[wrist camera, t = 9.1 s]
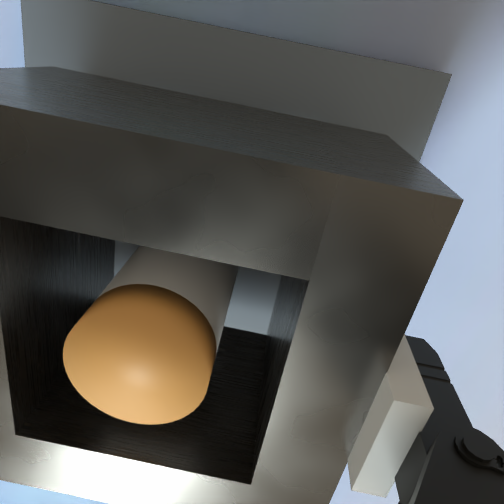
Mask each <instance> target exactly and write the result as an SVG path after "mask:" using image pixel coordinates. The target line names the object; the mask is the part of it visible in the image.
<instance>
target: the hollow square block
mask: <svg viewBox="0 0 504 504" xmlns="http://www.w3.org/2000/svg"><path fill="white" fill-rule="evenodd" d="M462 203H463V199H462V198H461V197H460V196H458V195H457V194H456V193H455V192H454V191H453V190H451V189H450V188H449V187H448V186H447V185H445V184H444V183H443V182H442V181H441V180H440V179H438V178H437V177H436V176H435V175H434V174H432V173H431V172H430V171H429V170H428V169H427V168H425V167H424V166H423V165H422V164H421V163H420V162H418V161H417V160H416V159H415V158H414V157H412V156H411V155H410V154H409V153H408V152H407V151H405V150H404V149H403V148H402V147H401V146H400V145H398V144H397V143H396V142H395V141H394V140H392V139H391V138H390V137H389V136H388V135H386V134H381V133H376V132H371V131H367V130H362V129H357V128H352V127H347V126H342V125H337V124H332V123H328V122H323V121H318V120H313V119H308V118H303V117H298V116H293V115H289V114H284V113H279V112H274V111H269V110H264V109H259V108H254V107H250V106H245V105H240V104H235V103H230V102H225V101H220V100H215V99H211V98H206V97H201V96H196V95H191V94H186V93H181V92H176V91H172V90H167V89H162V88H157V87H152V86H147V85H142V84H137V83H133V82H128V81H123V80H118V79H113V78H108V77H103V76H98V75H94V74H89V73H84V72H79V71H74V70H69V69H64V68H59V67H55V66H49V67H22V68H0V480H3V481H7V482H12V483H17V484H21V485H26V486H31V487H35V488H40V489H45V490H49V491H54V492H59V493H63V494H68V495H73V496H77V497H82V498H87V499H92V500H96V501H101V502H106V503H110V504H329V503H330V500H331V498H332V496H333V494H334V491H335V489H336V487H337V485H338V482H339V480H340V478H341V475H342V473H343V471H344V469H345V466H346V464H347V462H348V461H347V460H348V457H349V455H350V453H351V450H352V448H353V446H354V444H355V441H356V439H357V437H358V435H359V432H360V430H361V428H362V426H363V423H364V421H365V419H366V417H367V414H368V412H369V410H370V407H371V405H372V403H373V401H374V398H375V396H376V394H377V392H378V389H379V387H380V385H381V383H382V380H383V378H384V376H385V374H386V373H387V372H388V370H389V367H390V365H391V363H392V360H393V358H394V356H395V354H396V351H397V349H398V347H399V345H400V342H401V340H402V338H403V336H404V333H405V331H406V329H407V327H408V324H409V322H410V320H411V318H412V315H413V313H414V311H415V309H416V306H417V304H418V302H419V300H420V297H421V295H422V293H423V291H424V288H425V286H426V284H427V282H428V279H429V277H430V275H431V273H432V270H433V268H434V266H435V264H436V261H437V259H438V257H439V254H440V252H441V250H442V248H443V245H444V243H445V241H446V239H447V236H448V234H449V232H450V230H451V227H452V225H453V223H454V221H455V218H456V216H457V214H458V212H459V209H460V207H461V205H462ZM115 240H116V241H121V242H126V243H131V244H136V245H140V246H145V247H150V248H155V249H160V250H164V251H169V252H174V253H179V254H184V255H188V256H193V257H198V258H203V259H208V260H212V261H217V262H222V263H227V264H232V265H236V266H241V267H246V268H251V269H256V270H260V271H265V272H270V273H275V274H280V275H281V279H280V283H279V287H278V291H277V295H276V299H275V303H274V307H273V311H272V315H271V319H270V323H269V327H268V331H267V335H264V334H259V333H255V332H250V331H245V330H240V329H236V328H231V327H226V326H224V327H223V331H222V335H221V338H220V342H219V346H218V350H217V354H216V358H215V362H214V365H213V369H212V373H211V377H210V381H209V385H208V388H207V392H206V395H205V397H204V399H203V401H202V402H201V403H200V405H199V406H198V407H197V408H196V409H195V410H194V411H193V412H191V413H190V414H189V415H187V416H185V417H183V418H182V419H179V420H176V421H173V422H169V423H165V424H154V425H148V424H137V423H131V422H127V421H124V420H121V419H118V418H115V417H113V416H110V415H108V414H106V413H104V412H103V411H101V410H99V409H97V408H96V407H95V406H93V405H92V404H90V403H89V402H88V401H87V400H86V399H84V397H83V396H82V395H81V394H80V393H79V392H78V391H77V390H76V388H75V387H74V386H73V384H72V383H71V381H70V379H69V377H68V375H67V373H66V370H65V367H64V362H63V348H64V343H65V340H66V338H67V336H68V334H69V333H70V331H71V330H72V328H73V327H74V326H75V325H76V323H77V322H78V321H79V320H80V318H81V317H82V316H83V315H84V314H85V312H86V311H87V310H88V309H89V307H90V306H91V305H92V304H93V303H94V301H95V300H96V299H97V298H98V296H99V295H100V294H101V293H102V292H103V290H104V289H105V288H106V287H107V285H108V284H109V283H110V282H111V281H112V279H113V278H114V262H115Z"/></svg>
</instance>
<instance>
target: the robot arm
mask: <svg viewBox="0 0 504 504" xmlns="http://www.w3.org/2000/svg"><path fill="white" fill-rule="evenodd" d="M347 461H348V468H349V476H350V484H351V490H352V491H357V492H361V493H366V494H371V495H375V496H380V497H385V498H386V496H387V495H388V493H389V491H390V489H391V487H392V485H393V484H394V482H396V487H397V491H398V495H399V499H400V501H399V503H398V504H504V451H503V450H502V449H501V448H500V447H499V446H498V445H497V444H496V443H495V442H494V440H492V439H491V438H489V437H488V436H487V435H485V434H484V433H482V432H481V431H479V430H477V429H475V428H473V427H472V424H471V422H470V420H469V418H468V416H467V414H466V412H465V410H464V408H463V406H462V404H461V402H460V399H459V397H458V395H457V393H456V391H455V389H454V387H453V385H452V384H450V379H449V376H448V374H447V372H446V371H444V366H443V364H442V362H441V360H440V358H439V356H438V354H437V352H436V351H435V350H434V349H433V348H432V347H431V346H430V345H429V344H428V343H427V342H426V341H425V340H424V339H421V338H416V337H411V336H406V335H405V334H404V336H403V338H402V340H401V342H400V345H399V347H398V349H397V351H396V354H395V356H394V358H393V360H392V363H391V365H390V367H389V370H388V372H387V373H386V374H385V376H384V378H383V380H382V383H381V385H380V387H379V389H378V392H377V394H376V396H375V398H374V401H373V403H372V405H371V407H370V410H369V412H368V414H367V417H366V419H365V421H364V423H363V426H362V428H361V430H360V432H359V435H358V437H357V439H356V441H355V444H354V446H353V448H352V450H351V453H350V455H349V457H348V460H347Z"/></svg>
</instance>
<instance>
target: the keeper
mask: <svg viewBox="0 0 504 504" xmlns="http://www.w3.org/2000/svg"><path fill="white" fill-rule="evenodd" d="M21 12H22V27H23V42H24V57H25V67H49V66H55V67H59V68H64V69H69V70H74V71H79V72H84V73H89V74H94V75H98V76H103V77H108V78H113V79H118V80H123V81H128V82H133V83H137V84H142V85H147V86H152V87H157V88H162V89H167V90H172V91H176V92H181V93H186V94H191V95H196V96H201V97H206V98H211V99H215V100H220V101H225V102H230V103H235V104H240V105H245V106H250V107H254V108H259V109H264V110H269V111H274V112H279V113H284V114H289V115H293V116H298V117H303V118H308V119H313V120H318V121H323V122H328V123H332V124H337V125H342V126H347V127H352V128H357V129H362V130H367V131H371V132H376V133H381V134H386V135H388V136H389V137H390V138H391V139H392V140H394V141H395V142H396V143H397V144H398V145H400V146H401V147H402V148H403V149H404V150H405V151H407V152H408V153H409V154H410V155H411V156H412V157H414V158H415V159H416V160H417V161H418V162H419V161H420V159H421V156H422V153H423V151H424V148H425V145H426V143H427V140H428V137H429V135H430V132H431V129H432V127H433V124H434V121H435V119H436V116H437V113H438V111H439V108H440V105H441V103H442V100H443V97H444V94H445V92H446V89H447V86H448V84H449V81H450V78H451V76H452V74H448V73H444V72H439V71H434V70H429V69H424V68H419V67H414V66H409V65H404V64H399V63H395V62H390V61H385V60H380V59H375V58H370V57H365V56H360V55H355V54H351V53H346V52H341V51H336V50H331V49H326V48H321V47H316V46H311V45H306V44H302V43H297V42H292V41H287V40H282V39H277V38H272V37H267V36H262V35H257V34H253V33H248V32H243V31H238V30H233V29H228V28H223V27H218V26H213V25H209V24H204V23H199V22H194V21H189V20H184V19H179V18H174V17H169V16H164V15H160V14H155V13H150V12H145V11H140V10H135V9H130V8H125V7H120V6H115V5H111V4H106V3H101V2H96V1H91V0H21ZM280 279H281V275H280V274H275V273H270V272H265V271H260V270H256V269H251V268H246V267H241V266H236V265H232V264H227V263H222V262H217V261H212V260H208V259H203V258H198V257H193V256H188V255H184V254H179V253H174V252H169V251H164V250H160V249H155V248H150V247H145V246H140V245H136V244H131V243H126V242H121V241H116V240H115V262H114V278H113V279H112V281H111V282H110V283H109V284H108V285H107V287H106V288H105V289H104V290H103V292H102V293H101V294H100V295H99V296H98V298H97V299H96V300H95V301H94V303H93V304H92V305H91V306H90V307H89V309H88V310H87V311H86V312H85V314H84V315H83V316H82V317H81V318H80V320H79V321H78V322H77V323H76V325H75V326H74V327H73V328H72V330H71V331H70V333H69V334H68V336H67V338H66V340H65V343H64V348H63V362H64V367H65V370H66V373H67V375H68V377H69V379H70V381H71V383H72V384H73V386H74V387H75V388H76V390H77V391H78V392H79V393H80V394H81V395H82V396H83V397H84V399H86V400H87V401H88V402H89V403H90V404H92V405H93V406H95V407H96V408H97V409H99V410H101V411H103V412H104V413H106V414H108V415H110V416H113V417H115V418H118V419H121V420H124V421H127V422H131V423H137V424H148V425H154V424H165V423H169V422H173V421H176V420H179V419H182V418H183V417H185V416H187V415H189V414H190V413H191V412H193V411H194V410H195V409H196V408H197V407H198V406H199V405H200V403H201V402H202V401H203V399H204V397H205V395H206V392H207V388H208V385H209V381H210V377H211V373H212V369H213V365H214V362H215V358H216V354H217V350H218V346H219V342H220V338H221V335H222V331H223V327H224V326H226V327H231V328H236V329H240V330H245V331H250V332H255V333H259V334H264V335H267V331H268V327H269V323H270V319H271V315H272V311H273V307H274V303H275V299H276V295H277V291H278V287H279V283H280Z"/></svg>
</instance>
